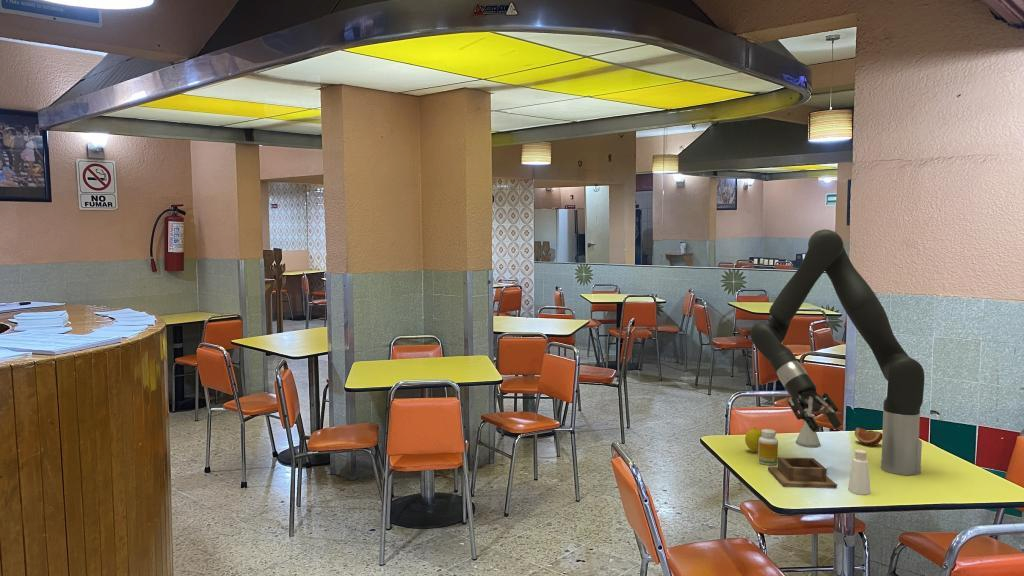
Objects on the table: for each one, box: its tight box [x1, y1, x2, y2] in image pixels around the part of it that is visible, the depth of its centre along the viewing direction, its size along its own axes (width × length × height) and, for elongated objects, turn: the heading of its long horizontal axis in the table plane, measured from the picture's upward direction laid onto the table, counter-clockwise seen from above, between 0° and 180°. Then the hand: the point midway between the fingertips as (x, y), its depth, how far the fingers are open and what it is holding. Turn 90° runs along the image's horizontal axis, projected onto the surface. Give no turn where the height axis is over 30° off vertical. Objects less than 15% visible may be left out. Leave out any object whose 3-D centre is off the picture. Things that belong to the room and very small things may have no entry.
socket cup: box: [767, 456, 838, 489], centre depth 196 cm, size 14×14×4 cm
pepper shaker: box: [847, 449, 872, 496], centre depth 186 cm, size 5×5×11 cm
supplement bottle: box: [757, 428, 779, 466], centre depth 210 cm, size 5×5×10 cm
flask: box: [795, 413, 821, 448], centre depth 230 cm, size 7×7×10 cm
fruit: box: [744, 426, 762, 453], centre depth 221 cm, size 6×6×8 cm
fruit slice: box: [854, 427, 882, 446], centre depth 231 cm, size 8×7×5 cm
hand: (827, 428), depth 195 cm, fingers open, 8 cm apart
